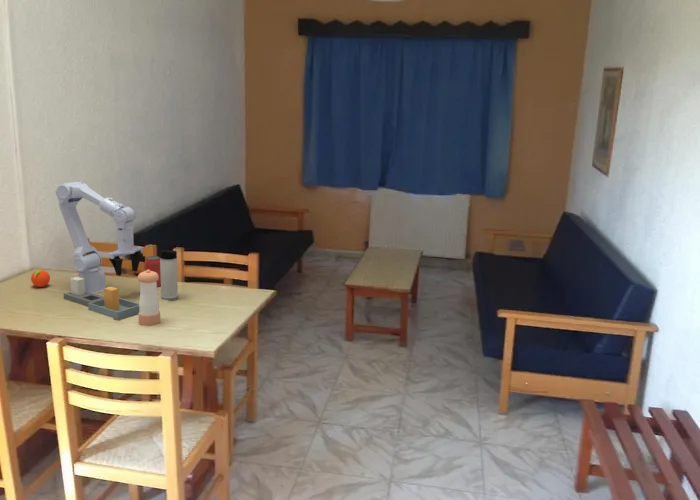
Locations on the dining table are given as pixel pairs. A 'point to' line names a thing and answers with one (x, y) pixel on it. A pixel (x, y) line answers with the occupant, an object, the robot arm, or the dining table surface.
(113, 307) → the orange rectangular block
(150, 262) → the beer can
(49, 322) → the dining table surface
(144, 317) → the pepper shaker
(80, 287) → the fuse
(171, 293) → the travel mug
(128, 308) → the parts tray
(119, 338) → the dining table surface
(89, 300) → the block
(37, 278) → the clementine
